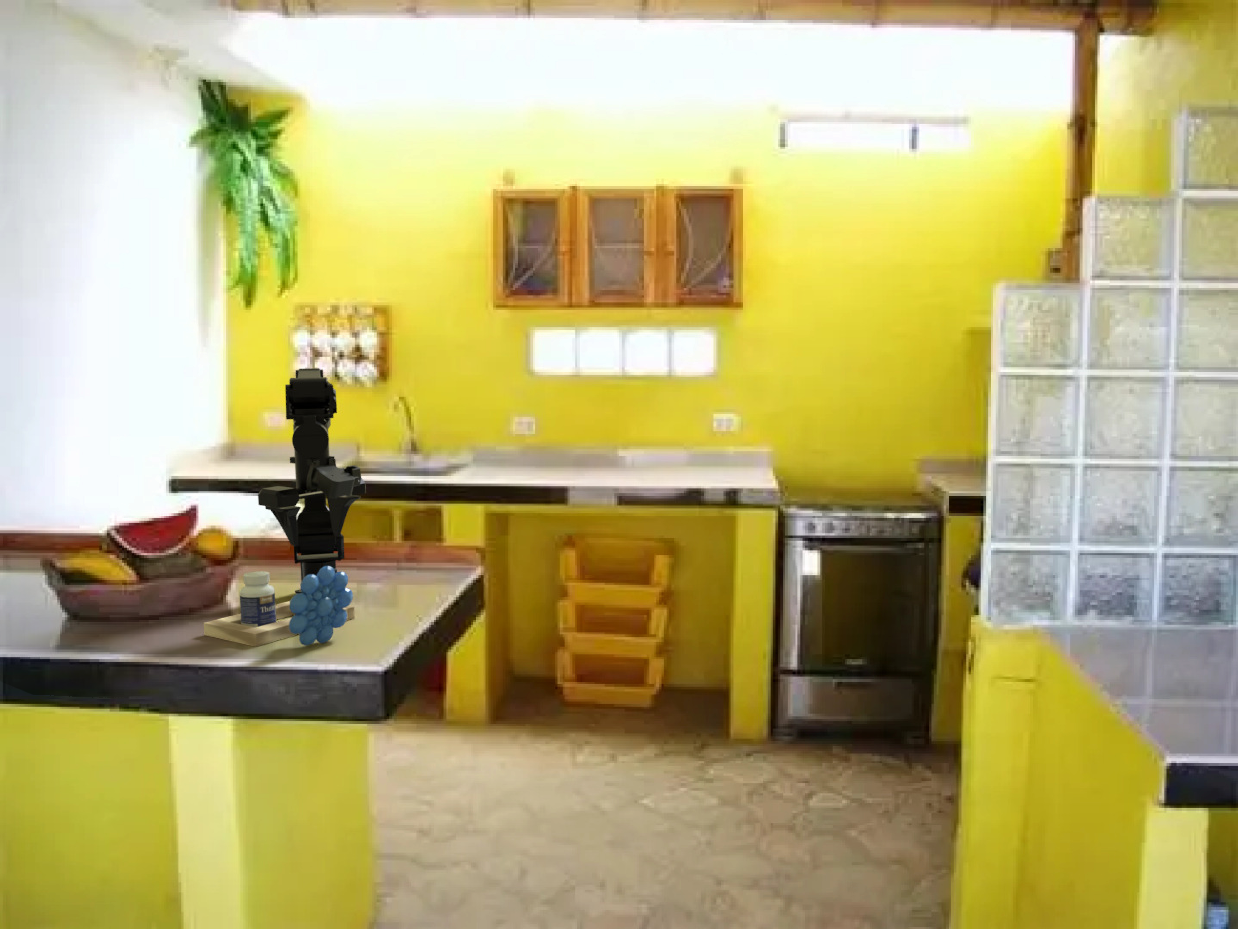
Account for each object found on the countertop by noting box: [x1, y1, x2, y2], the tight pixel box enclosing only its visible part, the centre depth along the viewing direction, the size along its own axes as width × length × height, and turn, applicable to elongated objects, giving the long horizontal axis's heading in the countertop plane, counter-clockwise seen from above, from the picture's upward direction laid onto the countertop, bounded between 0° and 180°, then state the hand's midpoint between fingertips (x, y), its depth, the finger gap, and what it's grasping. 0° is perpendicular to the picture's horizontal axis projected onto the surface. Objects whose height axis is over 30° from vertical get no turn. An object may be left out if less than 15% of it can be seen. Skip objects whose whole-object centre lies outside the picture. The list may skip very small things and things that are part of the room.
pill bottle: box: [239, 570, 277, 628], centre depth 172 cm, size 5×5×10 cm
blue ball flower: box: [289, 566, 354, 647], centre depth 165 cm, size 12×7×12 cm, turn 142°
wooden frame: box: [203, 600, 356, 647], centre depth 176 cm, size 20×13×2 cm, turn 146°
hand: (315, 540), depth 183 cm, fingers open, 9 cm apart
